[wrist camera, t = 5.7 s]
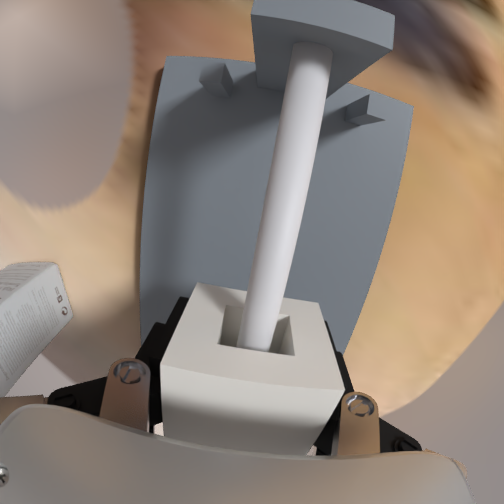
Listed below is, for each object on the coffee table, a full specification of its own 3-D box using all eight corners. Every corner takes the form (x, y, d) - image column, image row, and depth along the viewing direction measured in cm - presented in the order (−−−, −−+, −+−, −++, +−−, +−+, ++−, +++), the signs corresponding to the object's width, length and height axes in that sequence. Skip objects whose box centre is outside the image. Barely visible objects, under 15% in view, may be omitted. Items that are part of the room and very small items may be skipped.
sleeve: (197, 282, 10) (160, 364, 6) (318, 302, 11) (345, 389, 6) (189, 378, 12) (166, 458, 8) (286, 393, 12) (291, 476, 8)
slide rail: (172, 61, 12) (83, -12, 4) (404, 108, 12) (523, 89, 4) (147, 358, 18) (100, 458, 10) (321, 386, 18) (340, 493, 10)
